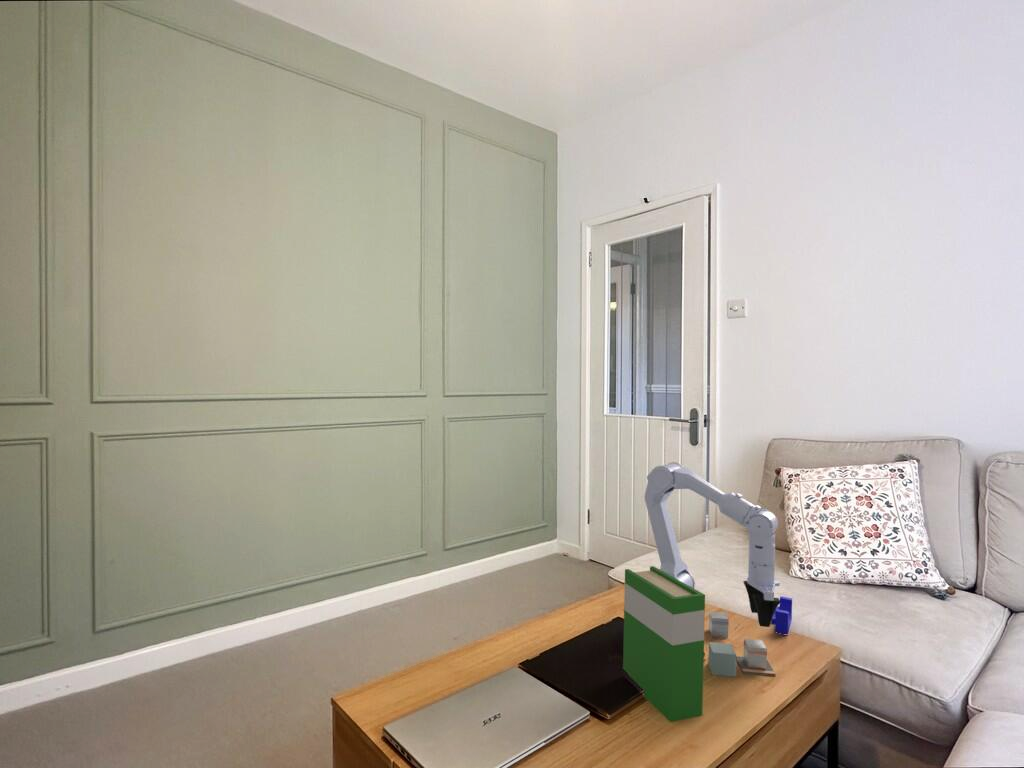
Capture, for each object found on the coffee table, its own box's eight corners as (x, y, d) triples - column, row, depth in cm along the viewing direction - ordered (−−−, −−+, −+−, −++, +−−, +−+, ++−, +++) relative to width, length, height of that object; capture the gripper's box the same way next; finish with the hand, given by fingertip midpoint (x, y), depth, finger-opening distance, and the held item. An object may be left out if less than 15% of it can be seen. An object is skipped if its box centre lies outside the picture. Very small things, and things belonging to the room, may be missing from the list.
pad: (742, 672, 129) (742, 670, 129) (735, 657, 136) (735, 655, 136) (775, 675, 128) (775, 673, 128) (766, 660, 135) (766, 658, 135)
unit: (712, 674, 128) (712, 652, 128) (708, 662, 133) (708, 641, 133) (735, 676, 127) (736, 654, 127) (730, 664, 133) (730, 643, 133)
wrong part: (711, 637, 147) (712, 617, 147) (708, 630, 151) (709, 611, 151) (728, 638, 146) (728, 619, 146) (724, 631, 150) (725, 612, 150)
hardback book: (622, 676, 127) (625, 569, 126) (651, 671, 129) (653, 566, 129) (670, 722, 110) (673, 599, 110) (702, 715, 113) (705, 594, 112)
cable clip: (774, 616, 161) (774, 594, 161) (791, 619, 159) (792, 598, 158) (768, 632, 151) (769, 609, 150) (787, 636, 148) (788, 613, 148)
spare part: (766, 670, 130) (767, 648, 130) (747, 668, 130) (748, 646, 130) (761, 661, 134) (762, 640, 134) (743, 659, 134) (743, 638, 134)
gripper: (789, 574, 127) (787, 634, 128) (771, 554, 142) (769, 608, 142) (755, 571, 129) (754, 631, 129) (741, 552, 143) (739, 605, 143)
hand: (760, 619), depth 135 cm, fingers open, 7 cm apart
